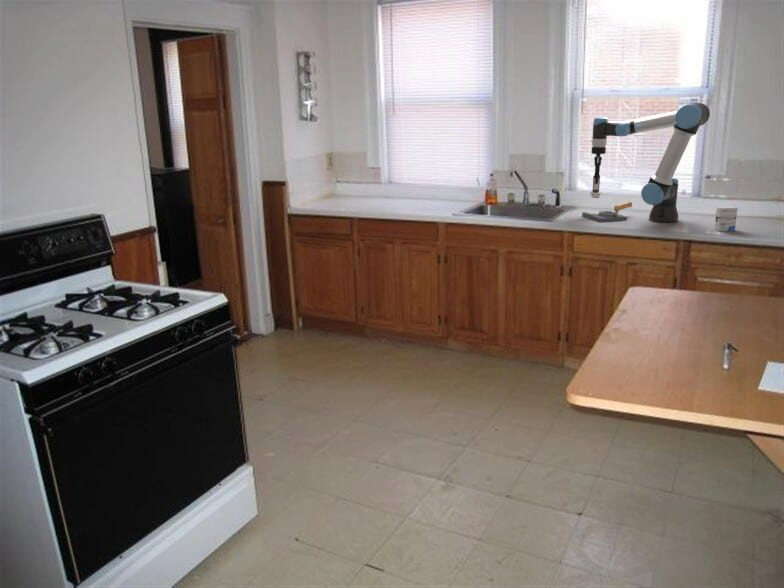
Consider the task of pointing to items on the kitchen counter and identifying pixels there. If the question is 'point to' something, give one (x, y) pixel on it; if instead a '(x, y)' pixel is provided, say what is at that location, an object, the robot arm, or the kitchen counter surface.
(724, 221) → the ink box
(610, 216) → the socket board
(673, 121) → the robot arm
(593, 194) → the plug
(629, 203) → the clip
